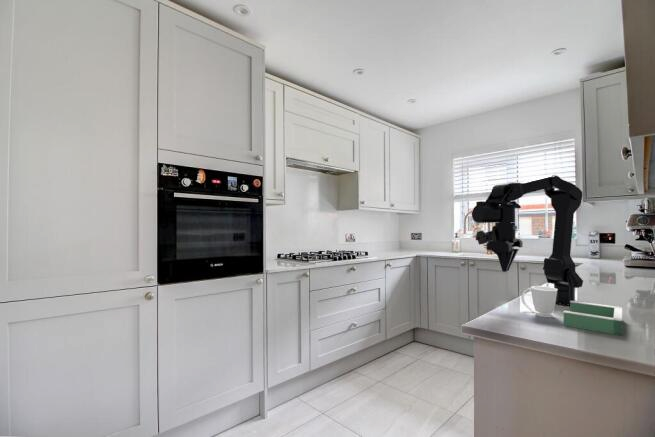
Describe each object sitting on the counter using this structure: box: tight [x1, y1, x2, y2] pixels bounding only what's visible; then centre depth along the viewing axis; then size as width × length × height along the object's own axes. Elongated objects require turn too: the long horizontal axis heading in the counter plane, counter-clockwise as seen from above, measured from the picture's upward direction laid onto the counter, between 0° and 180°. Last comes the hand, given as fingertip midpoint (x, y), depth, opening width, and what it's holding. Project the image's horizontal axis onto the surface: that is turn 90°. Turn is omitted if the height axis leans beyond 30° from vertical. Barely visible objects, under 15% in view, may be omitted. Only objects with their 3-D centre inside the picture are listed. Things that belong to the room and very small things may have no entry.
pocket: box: [563, 300, 623, 336], centre depth 88 cm, size 16×12×4 cm
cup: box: [520, 285, 558, 318], centre depth 97 cm, size 7×10×8 cm
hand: (505, 271), depth 103 cm, fingers open, 2 cm apart
